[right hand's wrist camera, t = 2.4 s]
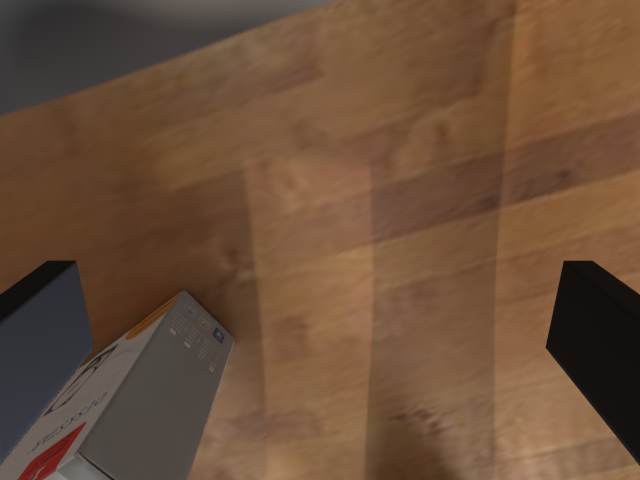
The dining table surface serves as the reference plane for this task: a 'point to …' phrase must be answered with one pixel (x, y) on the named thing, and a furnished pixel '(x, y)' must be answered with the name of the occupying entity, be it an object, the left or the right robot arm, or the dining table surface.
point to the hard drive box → (132, 404)
